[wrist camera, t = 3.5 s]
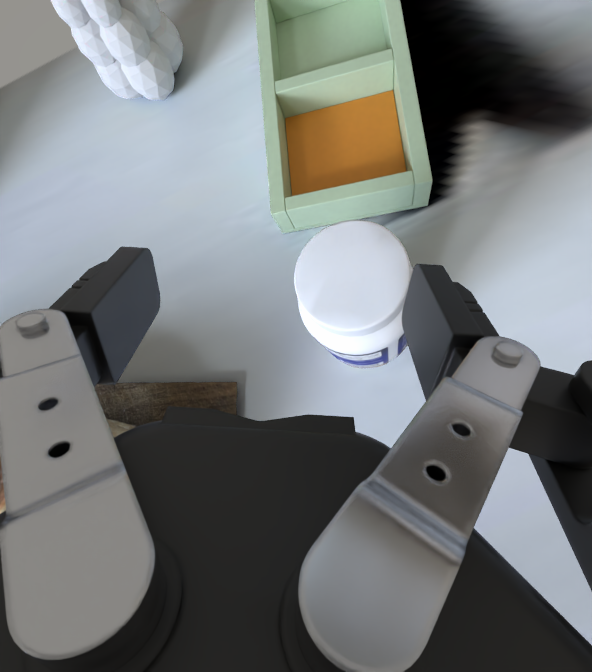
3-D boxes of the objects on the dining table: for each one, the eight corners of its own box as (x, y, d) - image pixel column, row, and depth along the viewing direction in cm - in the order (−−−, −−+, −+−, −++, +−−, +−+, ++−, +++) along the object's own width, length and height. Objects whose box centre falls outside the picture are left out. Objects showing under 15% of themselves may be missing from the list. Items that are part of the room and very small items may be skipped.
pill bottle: (370, 266, 25) (359, 179, 16) (431, 329, 23) (461, 275, 14) (304, 322, 25) (255, 270, 16) (360, 388, 24) (341, 374, 14)
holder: (282, 234, 27) (270, 214, 24) (265, 22, 31) (252, -15, 28) (427, 206, 25) (432, 180, 22) (388, -17, 29) (388, -63, 26)
